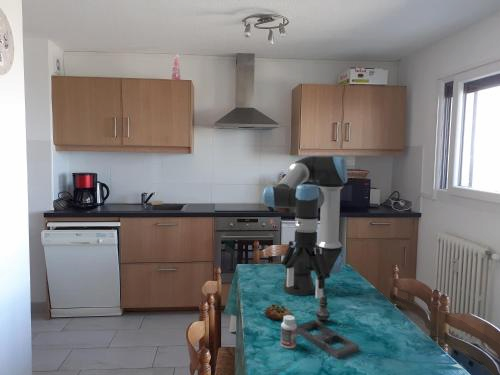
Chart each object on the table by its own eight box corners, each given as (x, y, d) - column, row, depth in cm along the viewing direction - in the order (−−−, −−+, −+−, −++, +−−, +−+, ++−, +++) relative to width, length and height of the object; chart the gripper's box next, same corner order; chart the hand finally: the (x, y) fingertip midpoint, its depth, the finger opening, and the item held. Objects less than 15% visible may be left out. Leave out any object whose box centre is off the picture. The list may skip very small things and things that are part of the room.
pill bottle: (293, 350, 125) (294, 321, 125) (278, 347, 127) (279, 319, 127) (297, 342, 130) (298, 315, 130) (283, 339, 132) (283, 313, 132)
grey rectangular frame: (293, 331, 139) (294, 326, 139) (314, 325, 144) (314, 320, 144) (336, 359, 120) (337, 353, 120) (358, 351, 126) (359, 345, 126)
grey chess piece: (321, 326, 144) (322, 295, 143) (311, 320, 149) (312, 290, 148) (333, 323, 147) (334, 293, 146) (323, 317, 152) (324, 288, 151)
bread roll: (260, 318, 149) (261, 306, 149) (268, 311, 160) (269, 300, 160) (287, 324, 145) (289, 311, 146) (294, 317, 156) (295, 305, 156)
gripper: (273, 225, 135) (271, 283, 136) (327, 238, 115) (324, 305, 117) (288, 223, 140) (286, 280, 141) (342, 235, 120) (340, 300, 121)
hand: (303, 291), depth 129 cm, fingers open, 13 cm apart
